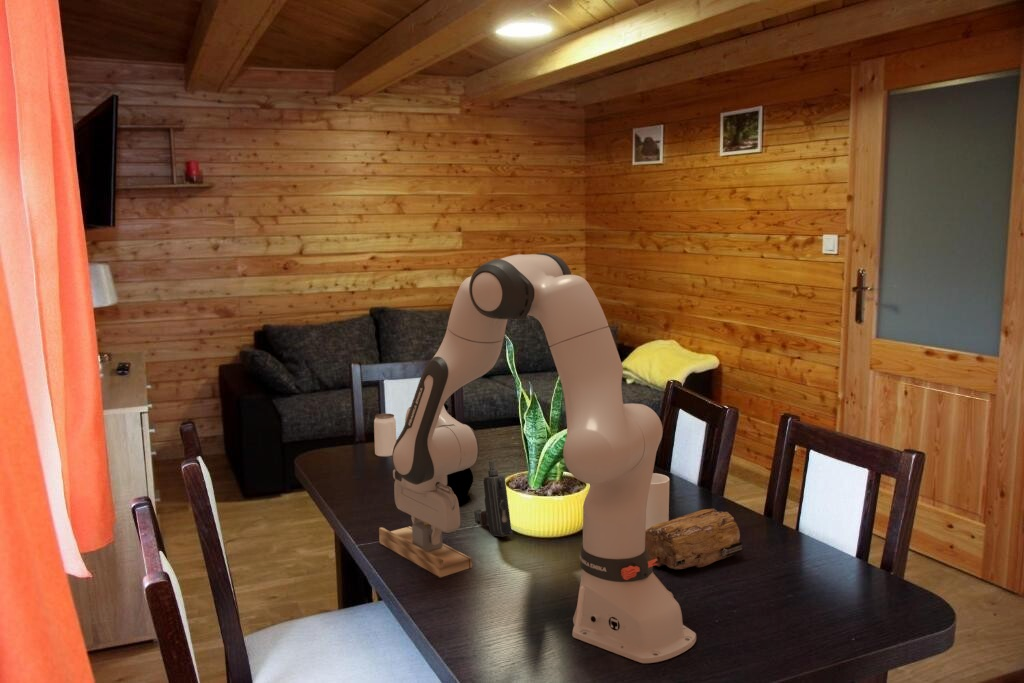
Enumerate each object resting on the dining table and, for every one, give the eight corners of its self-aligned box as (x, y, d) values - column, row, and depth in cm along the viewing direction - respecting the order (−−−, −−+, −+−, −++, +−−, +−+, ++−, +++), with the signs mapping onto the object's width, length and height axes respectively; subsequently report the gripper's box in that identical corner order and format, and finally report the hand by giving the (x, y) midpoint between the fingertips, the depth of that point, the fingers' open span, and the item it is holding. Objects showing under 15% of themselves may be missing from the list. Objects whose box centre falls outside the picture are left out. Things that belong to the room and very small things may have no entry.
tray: (472, 567, 184) (471, 551, 184) (440, 577, 179) (439, 561, 179) (409, 534, 203) (409, 519, 202) (379, 543, 198) (379, 528, 197)
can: (389, 450, 273) (388, 412, 271) (400, 454, 268) (399, 415, 266) (370, 454, 269) (369, 415, 267) (382, 458, 264) (381, 419, 262)
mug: (641, 540, 199) (642, 489, 197) (614, 529, 205) (615, 479, 203) (677, 528, 206) (678, 478, 204) (650, 518, 212) (651, 470, 211)
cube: (442, 547, 190) (442, 520, 189) (422, 552, 186) (422, 525, 186) (432, 541, 193) (431, 515, 192) (412, 547, 190) (412, 520, 189)
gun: (476, 460, 213) (504, 459, 200) (484, 530, 212) (513, 534, 199) (466, 461, 212) (493, 461, 199) (474, 532, 210) (502, 536, 197)
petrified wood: (678, 579, 177) (671, 530, 177) (637, 571, 188) (629, 524, 188) (747, 555, 187) (739, 508, 187) (703, 549, 198) (696, 504, 198)
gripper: (467, 486, 181) (467, 550, 183) (413, 463, 197) (414, 523, 199) (441, 492, 177) (442, 558, 179) (388, 469, 193) (390, 529, 195)
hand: (427, 539), depth 189 cm, fingers closed on cube, 4 cm apart
